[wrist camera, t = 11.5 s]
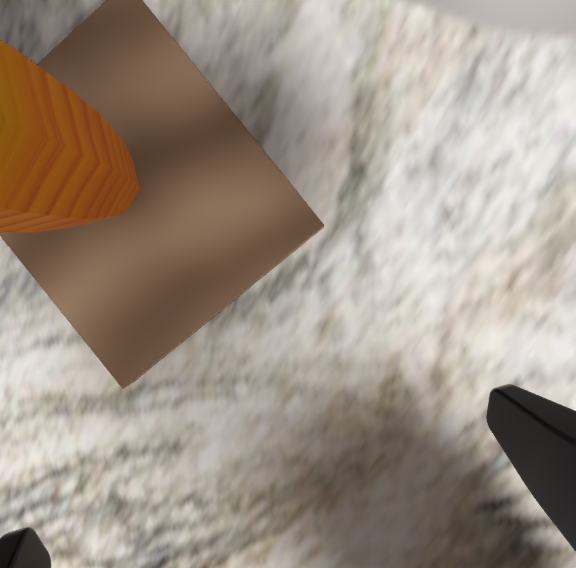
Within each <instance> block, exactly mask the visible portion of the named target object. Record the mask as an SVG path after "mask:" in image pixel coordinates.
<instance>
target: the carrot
mask: <svg viewBox="0 0 576 568" xmlns="http://www.w3.org/2000/svg"><path fill="white" fill-rule="evenodd" d="M139 189H140V186H139V183H138V179H137V175H136V171H135V167H134V163H133V160H132V157H131V155H130V152H129V149H128V148H127V146H126V145H125V144H124V142H123V141H122V140H121V138H120V137H119V136H118V134H117V133H116V132H115V131H114V129H113V128H112V127H111V126H110V125H109V124H108V123H107V121H106V120H105V119H104V118H103V117H102V116H101V115H100V113H98V112H97V111H96V110H95V109H93V108H92V107H91V106H90V105H88V104H87V103H86V102H85V101H83V100H82V99H81V98H80V97H79V96H77V95H76V94H75V93H74V92H72V91H71V90H70V89H69V88H67V87H66V86H65V85H63V84H62V83H61V82H59V81H58V80H57V79H55V78H54V77H52V76H51V75H50V74H48V73H47V72H46V71H44V70H43V69H42V68H40V67H39V66H38V65H36V64H35V63H33V62H32V61H31V60H29V59H28V58H27V57H25V56H24V55H23V54H21V53H20V52H18V51H17V50H16V49H14V48H12V47H11V46H9V45H7V44H6V43H4V42H2V41H1V40H0V232H14V233H36V232H43V231H50V230H57V229H64V228H69V227H74V226H79V225H83V224H88V223H92V222H96V221H99V220H103V219H107V218H111V217H115V216H118V215H121V214H122V213H124V212H125V211H126V210H128V209H129V207H130V205H131V203H132V202H133V200H134V198H135V196H136V195H137V193H138V191H139Z"/></svg>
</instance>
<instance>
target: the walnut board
mask: <svg viewBox="0 0 576 568" xmlns="http://www.w3.org/2000/svg"><path fill="white" fill-rule="evenodd" d="M37 65H38V66H39V67H40V68H42V69H43V70H44V71H46V72H47V73H48V74H50V75H51V76H52V77H54V78H55V79H57V80H58V81H59V82H61V83H62V84H63V85H65V86H66V87H67V88H69V89H70V90H71V91H72V92H74V93H75V94H76V95H77V96H79V97H80V98H81V99H82V100H83V101H85V102H86V103H87V104H88V105H90V106H91V107H92V108H93V109H95V110H96V111H97V112H98V113H100V115H101V116H102V117H103V118H104V119H105V120H106V121H107V123H108V124H109V125H110V126H111V127H112V128H113V129H114V131H115V132H116V133H117V134H118V136H119V137H120V138H121V140H122V141H123V142H124V144H125V145H126V146H127V148H128V149H129V152H130V155H131V157H132V160H133V163H134V167H135V171H136V175H137V179H138V183H139V186H140V189H139V191H138V193H137V195H136V196H135V198H134V200H133V202H132V203H131V205H130V207H129V209H128V210H126V211H125V212H124V213H122V214H121V215H118V216H115V217H111V218H107V219H103V220H99V221H96V222H92V223H88V224H83V225H79V226H74V227H69V228H64V229H57V230H50V231H43V232H36V233H14V232H0V236H1V237H2V238H3V240H4V241H5V242H6V243H7V245H8V246H9V247H10V248H11V250H12V251H13V252H14V253H15V255H16V256H17V257H18V258H19V260H20V261H21V262H22V263H23V265H24V266H25V267H26V268H27V270H28V271H29V272H30V273H31V275H32V276H33V277H34V278H35V280H36V281H37V282H38V283H39V285H40V286H41V287H42V288H43V290H44V291H45V292H46V293H47V295H48V296H49V297H50V298H51V300H52V301H53V302H54V303H55V305H56V306H57V307H58V308H59V310H60V311H61V312H62V313H63V315H64V316H65V317H66V318H67V320H68V321H69V322H70V323H71V325H72V326H73V327H74V328H75V330H76V331H77V332H78V333H79V335H80V336H81V337H82V338H83V340H84V341H85V342H86V343H87V345H88V346H89V347H90V348H91V350H92V351H93V352H94V353H95V355H96V356H97V357H98V358H99V360H100V361H101V362H102V363H103V365H104V366H105V367H106V368H107V370H108V371H109V372H110V373H111V375H112V376H113V377H114V378H115V380H116V381H117V382H118V383H119V385H120V386H121V387H122V388H125V387H127V386H128V385H130V384H131V383H133V382H134V381H135V380H137V379H138V378H139V377H140V376H142V375H143V374H144V373H145V372H147V371H148V370H149V369H150V368H151V367H153V366H154V365H155V364H156V363H158V362H159V361H160V360H161V359H163V358H164V357H165V356H166V355H167V354H169V353H170V352H171V351H172V350H174V349H175V348H176V347H177V346H178V345H180V344H181V343H182V342H183V341H185V340H186V339H187V338H188V337H190V336H191V335H192V334H193V333H194V332H196V331H197V330H198V329H199V328H201V327H202V326H203V325H204V324H205V323H207V322H208V321H209V320H210V319H212V318H213V317H214V316H215V315H217V314H218V313H219V312H220V311H221V310H223V309H224V308H225V307H226V306H228V305H229V304H230V303H231V302H233V301H234V300H235V299H236V298H237V297H239V296H240V295H241V294H242V293H244V292H245V291H246V290H247V289H248V288H250V287H251V286H252V285H253V284H255V283H256V282H257V281H258V280H260V279H261V278H262V277H263V276H264V275H266V274H267V273H268V272H269V271H271V270H272V269H273V268H274V267H275V266H277V265H278V264H279V263H280V262H282V261H283V260H284V259H285V258H287V257H288V256H289V255H290V254H291V253H293V252H294V251H295V250H296V249H298V248H299V247H300V246H301V245H302V244H304V243H305V242H306V241H307V240H309V239H310V238H311V237H312V236H314V235H315V234H316V233H317V232H318V231H320V230H321V229H322V228H323V227H324V224H323V223H322V222H321V221H320V219H319V218H318V217H317V216H316V214H315V213H314V212H313V211H312V209H311V208H310V207H309V206H308V205H307V203H306V202H305V201H304V200H303V198H302V197H301V196H300V195H299V193H298V192H297V191H296V190H295V188H294V187H293V186H292V185H291V184H290V182H289V181H288V180H287V179H286V177H285V176H284V175H283V174H282V172H281V171H280V170H279V169H278V167H277V166H276V165H275V164H274V163H273V161H272V160H271V159H270V158H269V156H268V155H267V154H266V153H265V151H264V150H263V149H262V148H261V146H260V145H259V144H258V143H257V141H256V140H255V139H254V138H253V137H252V135H251V134H250V133H249V132H248V130H247V129H246V128H245V127H244V125H243V124H242V123H241V122H240V120H239V119H238V118H237V117H236V116H235V114H234V113H233V112H232V111H231V109H230V108H229V107H228V106H227V104H226V103H225V102H224V101H223V99H222V98H221V97H220V96H219V95H218V93H217V92H216V91H215V90H214V88H213V87H212V86H211V85H210V83H209V82H208V81H207V80H206V78H205V77H204V76H203V75H202V73H201V72H200V71H199V70H198V69H197V67H196V66H195V65H194V64H193V62H192V61H191V60H190V59H189V57H188V56H187V55H186V54H185V52H184V51H183V50H182V49H181V48H180V46H179V45H178V44H177V43H176V41H175V40H174V39H173V38H172V36H171V35H170V34H169V33H168V31H167V30H166V29H165V28H164V27H163V25H162V24H161V23H160V22H159V20H158V19H157V18H156V17H155V15H154V14H153V13H152V12H151V10H150V9H149V8H148V7H147V5H146V4H145V3H144V2H143V1H142V0H107V1H106V2H105V3H104V4H102V5H101V6H100V7H99V8H98V9H97V10H96V11H95V12H94V13H93V14H91V15H90V16H89V17H88V18H87V19H86V20H85V21H84V22H83V23H82V24H81V25H79V26H78V27H77V28H76V29H75V30H74V31H73V32H72V33H71V34H70V35H69V36H67V37H66V38H65V39H64V40H63V41H62V42H61V43H60V44H59V45H58V46H56V47H55V48H54V49H53V50H52V51H51V52H50V53H49V54H48V55H47V56H46V57H44V58H43V59H42V60H41V61H40V62H39V63H38V64H37Z"/></svg>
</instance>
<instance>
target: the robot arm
mask: <svg viewBox="0 0 576 568" xmlns="http://www.w3.org/2000/svg"><path fill="white" fill-rule="evenodd" d="M486 418H487V423H488V426H489V428H490V430H491V431H492V433H493V434H494V436H495V438H496V439H497V441H498V442H499V444H500V445H501V447H502V449H503V450H504V452H505V453H506V455H507V457H508V458H509V460H510V461H511V463H512V464H513V466H514V468H515V469H516V471H517V472H518V474H519V475H520V477H521V479H522V480H523V482H524V483H525V485H526V486H527V488H528V489H529V491H530V492H531V494H532V495H533V496H534V498H535V499H536V501H537V502H538V503H539V505H540V506H541V507H542V509H543V510H544V511H545V512H546V514H547V515H548V516H549V518H550V519H551V520H552V521H553V523H554V524H555V525H556V527H557V528H558V529H559V531H560V532H561V533H562V534H563V536H564V537H565V538H566V540H567V541H568V542H569V544H570V545H571V546H572V547H573V549H574V550H575V551H576V411H574V410H572V409H570V408H567V407H565V406H562V405H560V404H558V403H555V402H553V401H551V400H548V399H546V398H543V397H541V396H539V395H536V394H534V393H531V392H529V391H527V390H524V389H522V388H520V387H517V386H515V385H511V384H508V385H503V386H500V387H497V388H494V389H492V391H491V392H490V396H489V403H488V409H487V416H486ZM0 568H51V560H50V555H49V553H48V551H47V549H46V548H45V546H44V545H43V543H42V541H41V540H40V538H39V537H38V535H37V534H36V532H35V531H34V529H32V528H30V527H26V528H22V529H19V530H16V531H12V532H9V533H7V534H5V535H3V536H2V537H1V538H0Z"/></svg>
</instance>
